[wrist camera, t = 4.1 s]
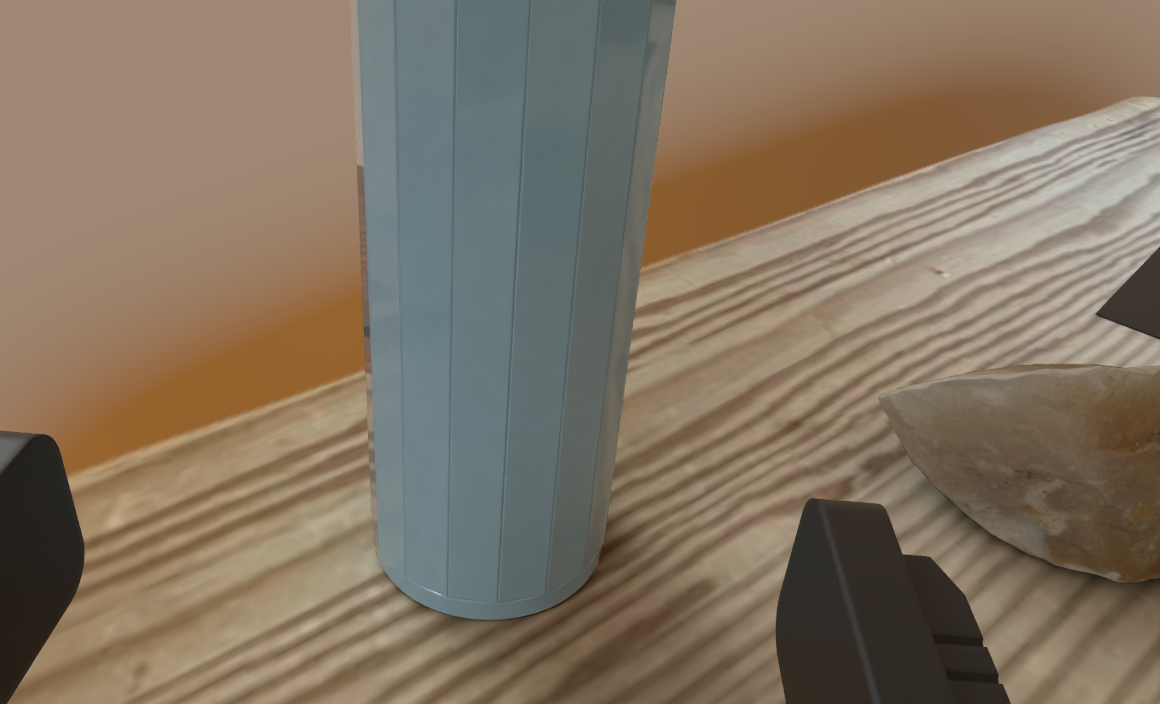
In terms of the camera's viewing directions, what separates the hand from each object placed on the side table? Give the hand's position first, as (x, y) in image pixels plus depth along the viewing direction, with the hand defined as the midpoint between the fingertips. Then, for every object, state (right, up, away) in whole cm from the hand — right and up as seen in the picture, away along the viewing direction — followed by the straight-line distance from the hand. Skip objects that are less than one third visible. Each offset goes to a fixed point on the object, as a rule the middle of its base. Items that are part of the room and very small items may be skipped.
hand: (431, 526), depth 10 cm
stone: (+17, -2, +16) cm, 23 cm away
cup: (-1, -2, +12) cm, 13 cm away
